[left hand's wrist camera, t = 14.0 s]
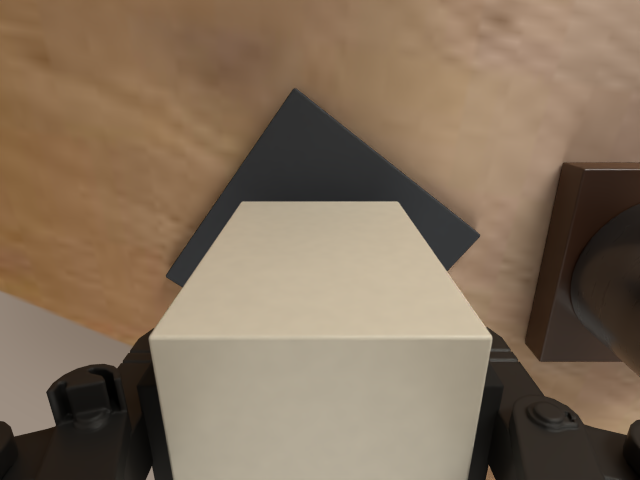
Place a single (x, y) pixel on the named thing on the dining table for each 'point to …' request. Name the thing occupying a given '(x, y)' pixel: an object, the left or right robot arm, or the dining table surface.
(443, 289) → the cream rectangular block
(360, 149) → the coaster
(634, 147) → the dining table surface
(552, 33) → the dining table surface
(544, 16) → the dining table surface
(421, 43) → the dining table surface
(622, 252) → the stand
